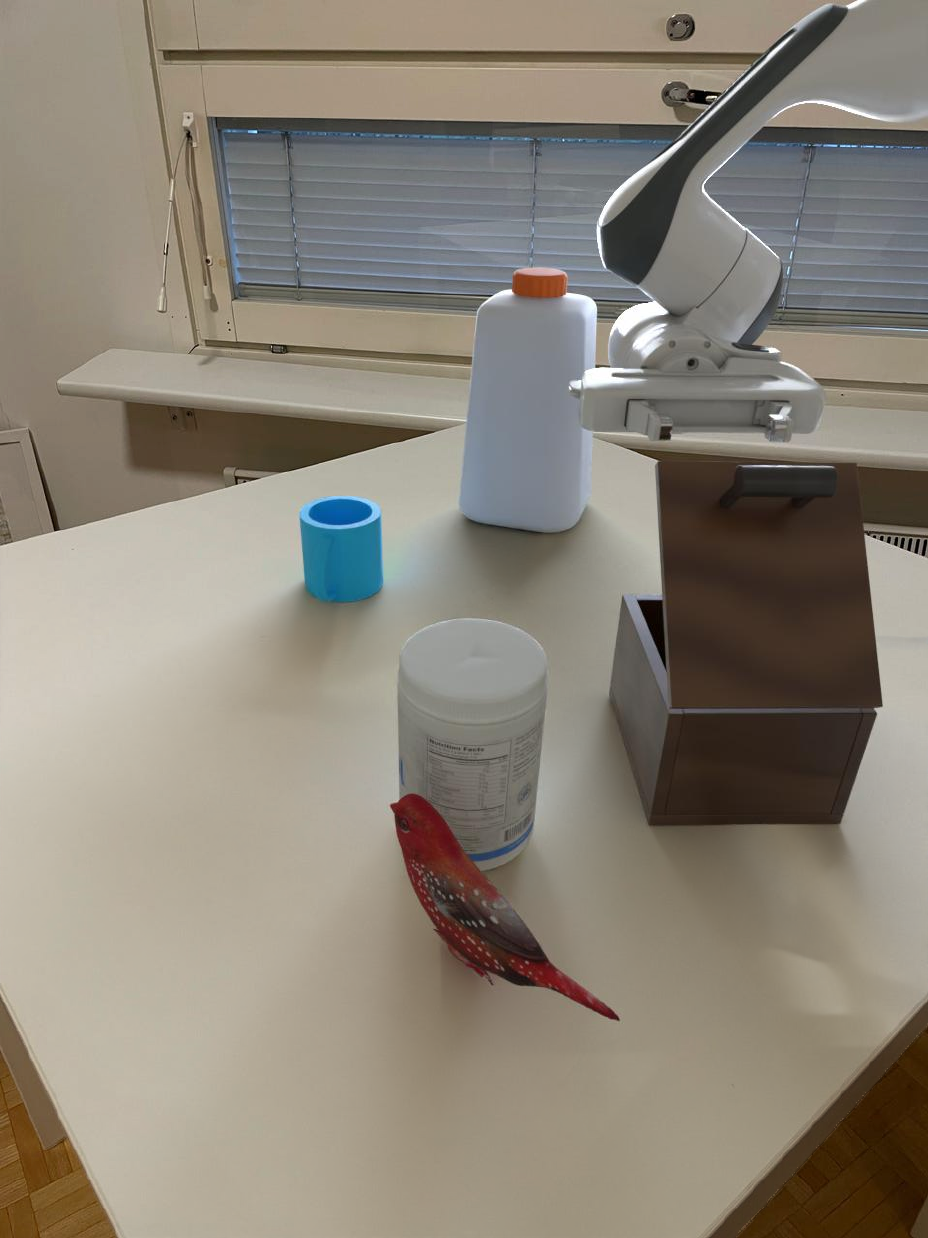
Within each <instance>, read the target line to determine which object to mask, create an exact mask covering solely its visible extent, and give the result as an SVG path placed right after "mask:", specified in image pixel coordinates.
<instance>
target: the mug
mask: <svg viewBox="0 0 928 1238" xmlns="http://www.w3.org/2000/svg"><path fill="white" fill-rule="evenodd" d="M298 515H299V529H300V538H301V553H302V564H303V577H304V586H305V589H306V591H307V592H308V593H309V595H311V596H312V597H314V598H316V599H317V600H319V601H321V602H323V603H328V602H330V603H350V602H357V601H360V600H364V599H365V600H366V599H368V598H370V597H372V596H373V595H375V594H377V593H378V592H379V591H380V590H381V589H382V587H383V583H384V567H383V566H384V565H383V563H384V562H383V531H382V530H383V529H382V509H381V507H380V505H379V504H377V503H376V502H375V501H374V500H370V499H368V498H364V497H360V496H354V495H332V496H325V497H321V498H316V499H314V500H312V501H309V502H307V503H305V505H303V506H302V507H301V508H300V510H299V513H298Z"/></svg>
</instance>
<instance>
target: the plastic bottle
mask: <svg viewBox="0 0 928 1238" xmlns="http://www.w3.org/2000/svg"><path fill="white" fill-rule="evenodd" d="M568 277H569V276H568V275H567V273H566V272H565V271H564V270H561V269H557V268H550V267H523V268H522V267H521V268H518V269H516V270H515V271H514V272H513V273H512V281H511V282H512V283H511V289H505V290H501V291H499V292H498V293H496V294H494V295H492V296H491V297H489V298H488V299H487V300H485V301H484V302H483V303H481V304H480V306H479V307H478V308H477V311H476V318H475V327H474V336H473V337H474V338H473V348H472V356H471V357H472V358H471V370H470V378H469V388H468V398H467V399H468V400H467V410H466V419H465V420H466V421H465V430H464V442H463V452H462V463H461V471H460V472H461V473H460V483H459V492H458V507H459V510H460V511H461V513H462V514H463V515H464V516H465V517H466V518H467V519H469V520H471V521H474V522H476V523H479V524H484V525H492V526H497V527H502V528H503V527H504V528H511V529H518V530H525V531H532V532H536V533H545V534H546V533H548V534H551V533H553V534H555V533H560V532H564V531H567V530H570V529H572V528H573V527H574V526H576V525H577V524H578V523H579V521H580V520H581V517H582V515H583V513H584V512H585V508H586V506H587V505H588V503H589V501H590V498H591V495H592V475H593V443H594V442H593V441H594V432H593V431H590V430H587V429H584V428H583V427H582V426H581V424H580V421H579V401H580V399H577V398H574V397H572V396H571V395H570V393H569V389H568V385H569V382H570V381H572V380H582V376H583V374H584V373H585V372H586V371H587V370H590V369H596V353H597V352H596V351H597V350H596V349H597V346H596V345H597V324H598V323H597V320H598V319H597V318H598V307H597V304H596V302H595V300H593V299H592V298H591V297H589V296H587V295H583V294H577V293H572V292H571V293H570V292H567V290H568V279H569V278H568Z"/></svg>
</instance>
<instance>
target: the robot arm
mask: <svg viewBox="0 0 928 1238" xmlns="http://www.w3.org/2000/svg"><path fill="white" fill-rule="evenodd" d="M805 103H817V104H823V105H827V106H831V107H835V108H838V109H841V110H845V111H847V112H850V113H853V114H857V115H861V116H863V117H866V118H870V119H874V120H879V121H882V122H883V121H884V122H890V123H908V122H909V123H911V122H917V121H920V120H924V119H927V118H928V0H856V1H854V2H852V3H850V4H847V5H842V4H837V3H826V4H824V5H822V6H821V7H819V8H817V9H815V10H813V11H812V12H811V13H809V14H808V15H806V16H804V17H803V18H802V19H801V20H800V21H798V22H797V23H795V24H794V25H793V26H792V27H791V28H789V29H788V30H787V31H786V32H785V33H783V35H781V37H779V38H778V39H777V40H776V41H775V42H774V43H772V45H770V47H768V48H767V49H766V50H765V51H764V52H763V53H762V54H761V55H760V56H759V57H758V58H757V59H755V60H754V62H752V63H751V64H750V65H749V66H748V67H747V68H746V69H745V70H744V71H743V72H742V73H741V74H740V75H739V76H738V77H737V78H736V79H734V81H733V82H731V84H730V85H728V87H727V88H726V89H725V90H723V92H721V93H720V94H719V95H718V97H716V99H714V100H713V102H711V103H710V104H709V105H708V106H707V107H706V108H705V109H704V110H702V112H701V113H700V114H699V115H697V117H696V118H695V119H694V120H693V121H692V122H691V123H690V124H689V125H688V126H687V127H686V128H685V129H684V130H683V131H681V133H680V134H678V136H676V137H675V139H674V140H672V142H670V143H669V144H668V145H667V146H666V147H665V148H664V149H663V150H661V151H660V152H659V153H658V154H657V155H656V156H655V157H654V158H652V159H651V160H650V161H649V162H648V163H647V164H645V165H644V166H643V167H642V168H641V169H640V170H639V171H637V172H636V173H635V174H633V175H632V176H631V177H629V178H628V179H627V180H626V181H625V182H624V183H622V185H620V187H618V189H617V190H615V192H614V193H613V194H612V196H611V197H610V198H609V200H608V201H607V203H606V205H605V206H604V208H603V210H602V212H601V214H600V216H599V218H598V220H597V222H596V236H597V237H596V238H597V245H598V249H599V251H598V252H599V255H600V258H601V261H602V265H603V267H604V269H606V270H607V271H609V272H611V273H612V274H613V275H615V276H616V277H618V278H619V279H621V280H623V281H624V282H626V283H627V284H629V285H631V286H632V287H636V288H637V289H639V291H641V292H642V293H644V294H645V295H646V296H647V297H649V298H650V299H651V300H652V302H648V303H641V304H638V305H634V306H632V307H631V308H629V309H627V310H625V311H624V312H623V313H622V314H621V315H620V316H619V317H618V318H617V320H616V321H615V323H614V324H613V326H612V329H611V331H610V334H609V338H608V346H607V358H608V363H609V366H610V367H599V368H595V369H590V370H587V371H586V372H585V373H584V374H583V376H582V380H572V381H570V382H569V385H568V389H569V393H570V395H571V396H572V397H574V398H577V399H580V401H579V421H580V424H581V426H582V427H583V428H584V429H587V430H590V431H593V433H637V434H640V435H643V436H647V438H648V439H649V441H650V442H671V440H672V435H685V434H764V435H763V437H764V438H765V439H767V440H768V441H769V443H790V442H791V440H792V435H793V434H794V435H795V434H796V435H797V434H798V435H811V434H812V433H814V432H815V431H817V429H818V428H819V425H820V424H821V422H822V417H823V414H824V411H825V404H826V396H827V395H826V390H825V388H824V387H823V386H822V385H821V384H820V383H819V382H818V381H817V380H816V379H815V378H813V377H812V376H811V375H809V374H808V373H806V372H805V371H804V370H802V369H800V368H799V367H797V366H795V365H793V364H790V363H788V362H785V361H782V358H783V354H782V351H780V350H778V349H777V348H774V347H770V346H763V345H757V344H754V343H755V342H756V341H757V340H758V339H759V337H761V336H762V335H763V333H764V331H765V330H766V329H767V327H768V326H769V325H770V323H771V322H772V321H773V318H774V317H775V315H776V313H777V311H778V308H779V305H780V300H781V296H782V290H783V285H784V266H783V262H782V259H781V258H780V256H778V255H776V253H774V252H773V251H772V250H771V249H770V248H769V246H767V245H766V244H765V243H764V242H763V241H762V240H760V239H759V237H757V236H756V235H755V234H754V233H752V231H750V230H749V229H748V228H746V227H744V226H742V224H740V223H739V222H738V221H737V220H736V219H735V218H734V217H733V216H731V215H730V214H729V213H728V212H727V211H726V210H724V209H723V208H722V207H721V206H720V205H719V204H718V203H716V202H715V201H714V200H713V199H712V197H710V196H709V195H708V194H707V192H706V191H705V188H704V185H705V183H706V182H707V180H708V179H709V178H711V176H713V174H714V173H716V172H717V171H718V170H719V169H720V168H721V167H722V166H723V165H724V164H725V163H727V161H728V160H729V159H730V158H732V157H733V156H734V155H735V154H736V153H737V152H738V151H739V150H740V149H741V148H742V147H743V146H744V145H745V144H746V143H748V141H750V140H751V139H752V138H753V137H754V136H755V135H756V134H757V133H758V132H760V131H761V129H762V128H764V127H765V126H766V125H767V124H768V123H769V122H770V121H771V120H772V119H773V118H775V117H776V116H777V115H778V114H780V113H781V112H783V111H785V110H786V109H788V108H791V107H793V106H796V105H799V104H805Z"/></svg>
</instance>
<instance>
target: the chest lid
mask: <svg viewBox="0 0 928 1238" xmlns="http://www.w3.org/2000/svg"><path fill="white" fill-rule="evenodd" d="M654 471H655V472H654V473H655V491H656V492H655V493H656V506H657V509H656V510H657V526H658V544H659V545H658V546H659V564H660V579H661V594H662V600H663V618H664V635H665V653H666V671H667V689H668V706H669V709H780V708H874V709H880V708H883V707H884V704H883V703H884V702H883V695H882V686H881V684H882V683H881V677H880V667H879V657H878V648H877V640H876V639H877V638H876V631H875V629H876V628H875V620H874V611H873V601H872V593H871V591H872V590H871V583H870V574H869V573H870V572H869V564H868V555H867V547H866V537H865V528H864V527H865V526H864V518H863V517H864V516H863V508H862V499H861V490H860V479H859V472H858V463H857V462H814V461H813V462H812V461H811V462H810V461H809V462H803V461H802V462H801V461H800V462H799V461H798V462H795V461H705V460H703V461H701V460H700V461H697V460H696V461H693V460H691V461H690V460H685V461H684V460H658V461H657V462H656V463H655V465H654Z"/></svg>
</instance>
